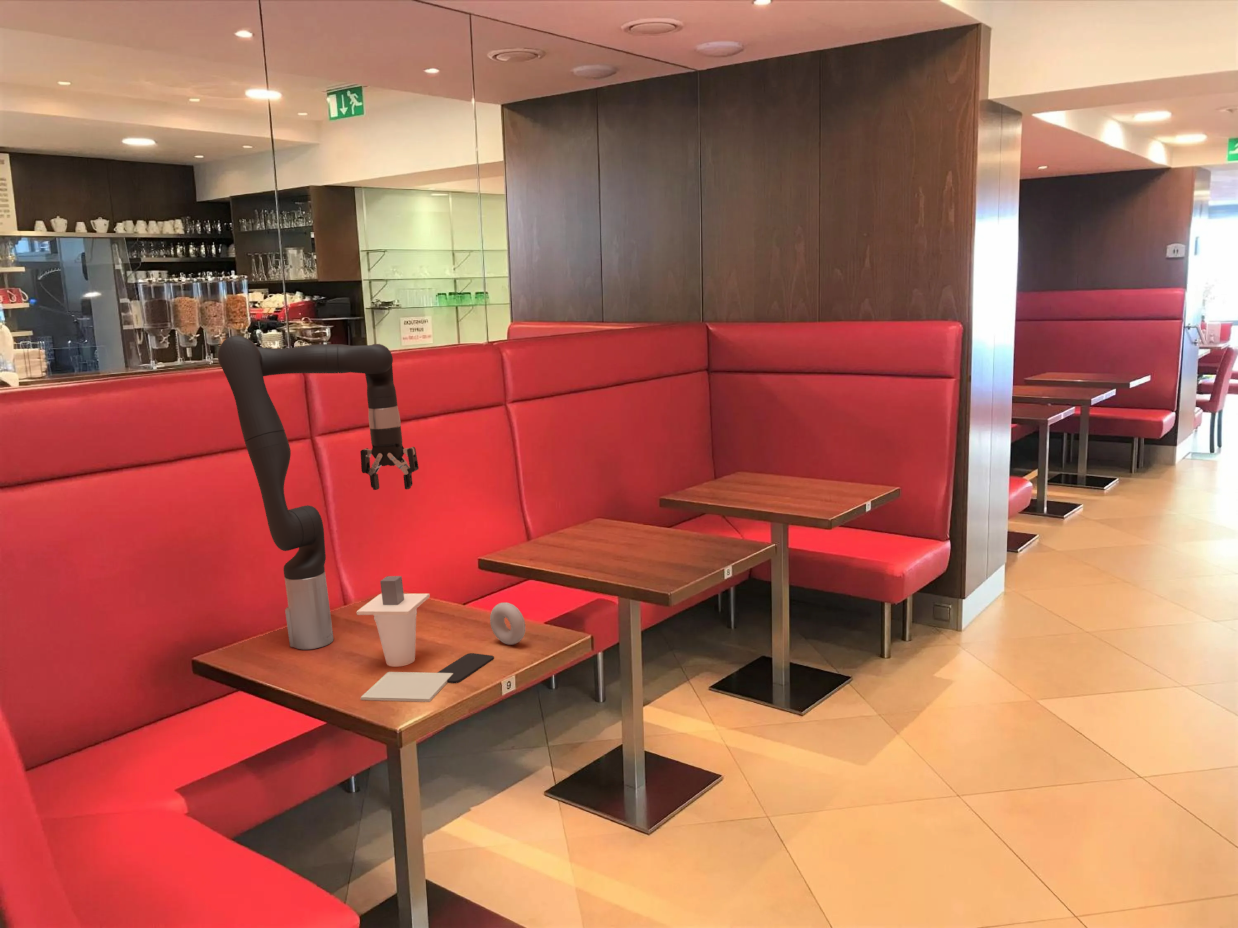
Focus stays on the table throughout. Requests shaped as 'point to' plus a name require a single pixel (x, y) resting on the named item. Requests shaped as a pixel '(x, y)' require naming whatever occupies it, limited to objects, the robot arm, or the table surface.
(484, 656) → the phone
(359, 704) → the table surface
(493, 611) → the donut
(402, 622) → the foam cup
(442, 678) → the mat
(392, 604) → the lid
